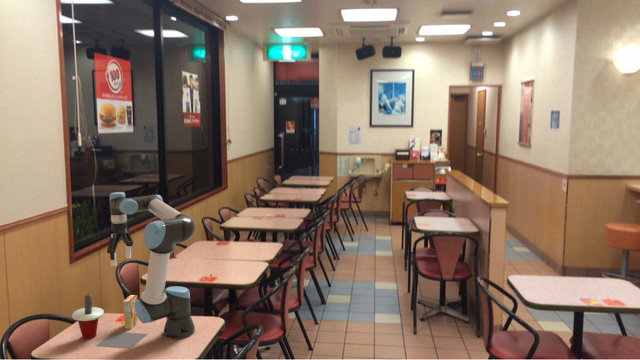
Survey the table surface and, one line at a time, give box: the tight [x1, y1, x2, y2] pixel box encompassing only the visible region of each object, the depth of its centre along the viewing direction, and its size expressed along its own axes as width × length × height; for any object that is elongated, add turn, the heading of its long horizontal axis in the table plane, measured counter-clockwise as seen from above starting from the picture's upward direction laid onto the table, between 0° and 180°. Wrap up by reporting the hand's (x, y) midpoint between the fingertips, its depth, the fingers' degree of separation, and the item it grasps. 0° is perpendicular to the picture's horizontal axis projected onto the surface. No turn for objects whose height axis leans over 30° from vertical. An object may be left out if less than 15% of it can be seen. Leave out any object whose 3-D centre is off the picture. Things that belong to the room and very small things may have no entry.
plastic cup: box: [77, 318, 100, 340], centre depth 243 cm, size 11×11×12 cm
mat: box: [95, 331, 149, 350], centre depth 240 cm, size 18×16×1 cm
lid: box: [71, 293, 105, 321], centre depth 241 cm, size 14×14×10 cm
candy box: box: [123, 294, 139, 330], centre depth 256 cm, size 9×4×15 cm, turn 179°
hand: (121, 261), depth 259 cm, fingers open, 13 cm apart
